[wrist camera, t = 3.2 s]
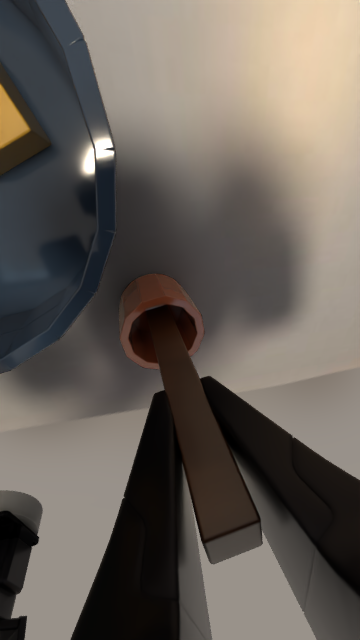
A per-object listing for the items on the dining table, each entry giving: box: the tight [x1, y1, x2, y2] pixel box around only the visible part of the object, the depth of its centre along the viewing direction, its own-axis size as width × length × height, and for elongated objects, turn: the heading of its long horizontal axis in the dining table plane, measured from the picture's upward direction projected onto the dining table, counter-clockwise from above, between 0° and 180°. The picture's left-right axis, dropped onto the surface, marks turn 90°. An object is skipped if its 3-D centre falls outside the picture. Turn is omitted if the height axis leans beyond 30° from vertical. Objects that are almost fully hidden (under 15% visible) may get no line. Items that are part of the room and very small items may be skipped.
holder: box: [119, 274, 205, 370], centre depth 14 cm, size 4×4×4 cm
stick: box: [146, 305, 263, 564], centre depth 9 cm, size 1×1×10 cm
